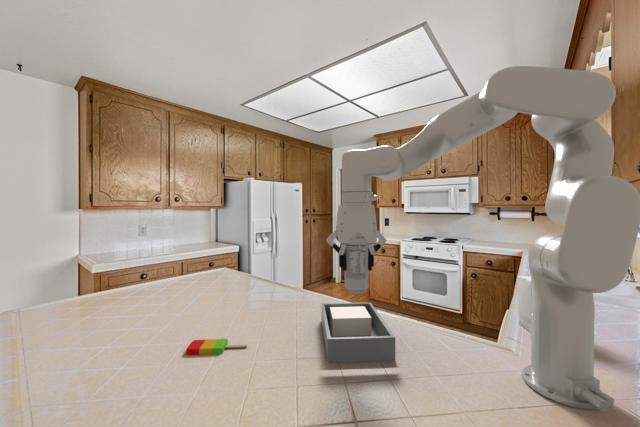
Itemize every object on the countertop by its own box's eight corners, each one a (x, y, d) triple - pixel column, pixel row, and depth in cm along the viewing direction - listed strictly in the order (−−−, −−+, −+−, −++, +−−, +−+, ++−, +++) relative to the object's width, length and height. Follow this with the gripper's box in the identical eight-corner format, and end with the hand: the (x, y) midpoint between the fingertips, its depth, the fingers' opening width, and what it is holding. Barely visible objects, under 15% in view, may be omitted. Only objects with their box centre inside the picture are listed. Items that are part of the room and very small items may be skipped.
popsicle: (192, 346, 73) (192, 339, 73) (249, 343, 75) (249, 337, 75) (184, 357, 68) (184, 349, 68) (245, 354, 69) (245, 347, 69)
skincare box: (557, 336, 78) (557, 282, 77) (530, 334, 79) (531, 281, 79) (539, 324, 86) (540, 275, 86) (516, 322, 87) (516, 274, 87)
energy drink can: (370, 288, 71) (370, 231, 71) (365, 295, 66) (366, 233, 65) (347, 286, 73) (348, 231, 73) (341, 292, 68) (342, 233, 68)
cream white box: (371, 335, 76) (371, 317, 76) (332, 336, 76) (332, 318, 76) (364, 322, 85) (364, 306, 85) (329, 323, 85) (329, 307, 85)
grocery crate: (395, 364, 64) (395, 337, 64) (327, 367, 63) (327, 339, 63) (370, 322, 88) (370, 302, 88) (321, 323, 87) (321, 303, 87)
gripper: (385, 200, 73) (385, 266, 74) (321, 200, 73) (321, 267, 73) (394, 199, 66) (394, 272, 66) (323, 199, 65) (323, 273, 65)
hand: (356, 269), depth 69 cm, fingers closed on energy drink can, 6 cm apart
